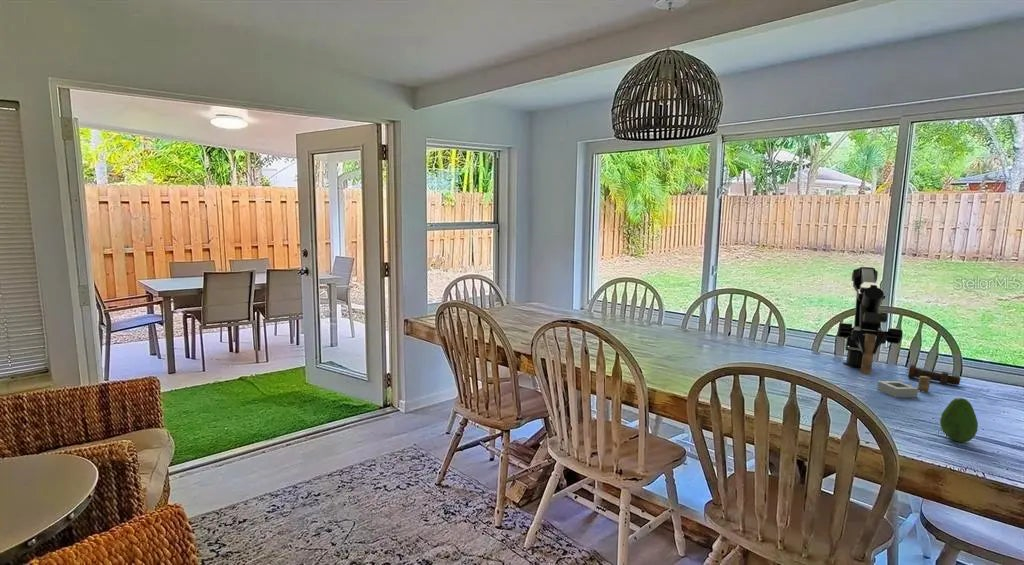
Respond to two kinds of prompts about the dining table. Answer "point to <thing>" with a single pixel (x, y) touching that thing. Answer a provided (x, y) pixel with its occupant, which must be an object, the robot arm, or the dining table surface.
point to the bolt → (933, 375)
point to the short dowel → (924, 383)
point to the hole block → (897, 389)
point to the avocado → (959, 420)
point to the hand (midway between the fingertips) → (868, 353)
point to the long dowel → (868, 353)
